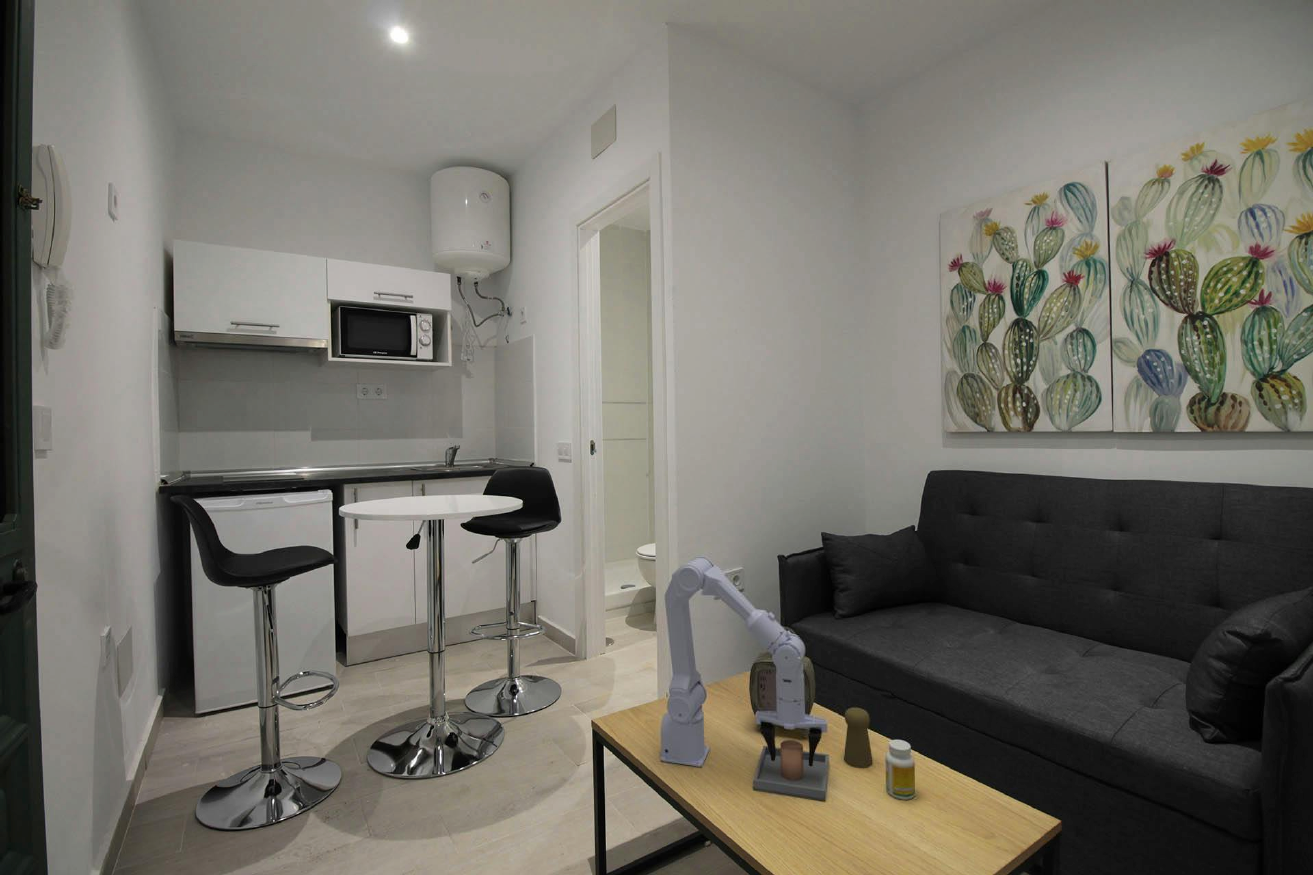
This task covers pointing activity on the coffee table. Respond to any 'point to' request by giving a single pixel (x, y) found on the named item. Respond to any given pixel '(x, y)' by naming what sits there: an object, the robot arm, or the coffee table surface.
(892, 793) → the supplement bottle
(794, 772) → the brown clay cylinder
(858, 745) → the brown pawn figure
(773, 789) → the tray
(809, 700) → the tabletop clock
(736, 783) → the coffee table surface
